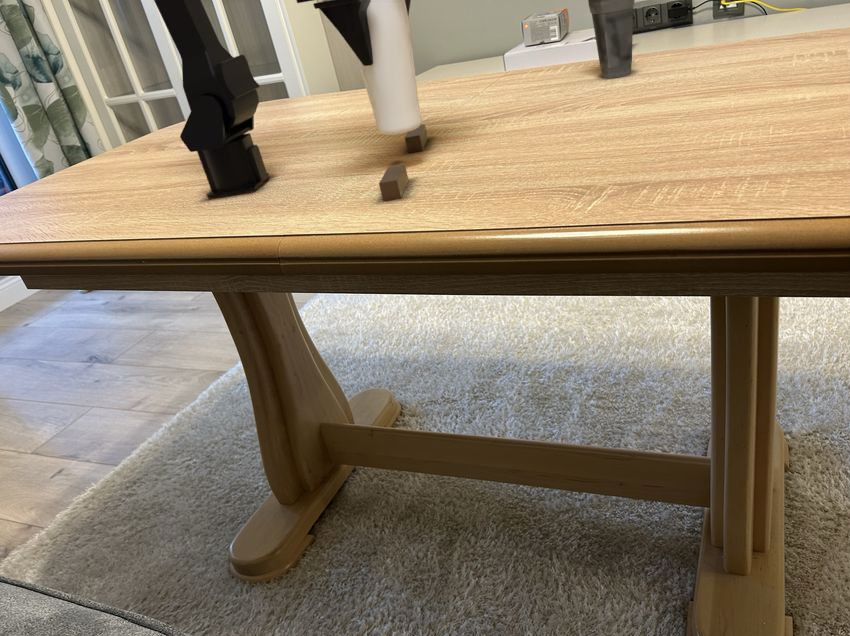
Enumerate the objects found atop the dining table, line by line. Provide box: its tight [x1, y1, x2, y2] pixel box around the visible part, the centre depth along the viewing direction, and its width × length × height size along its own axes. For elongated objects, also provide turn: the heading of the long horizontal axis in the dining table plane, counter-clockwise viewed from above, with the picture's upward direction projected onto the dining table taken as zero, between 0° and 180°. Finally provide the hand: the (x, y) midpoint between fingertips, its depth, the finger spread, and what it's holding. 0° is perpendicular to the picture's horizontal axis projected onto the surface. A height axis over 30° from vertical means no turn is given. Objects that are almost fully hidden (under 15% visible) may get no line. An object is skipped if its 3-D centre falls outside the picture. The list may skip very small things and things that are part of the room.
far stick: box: [404, 123, 429, 154], centre depth 94 cm, size 6×2×2 cm, turn 176°
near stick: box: [378, 163, 410, 201], centre depth 78 cm, size 6×2×2 cm, turn 176°
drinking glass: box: [354, 0, 423, 136], centre depth 80 cm, size 7×7×15 cm
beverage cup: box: [587, 0, 635, 79], centre depth 107 cm, size 7×7×20 cm
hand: (385, 58), depth 80 cm, fingers closed on drinking glass, 6 cm apart
